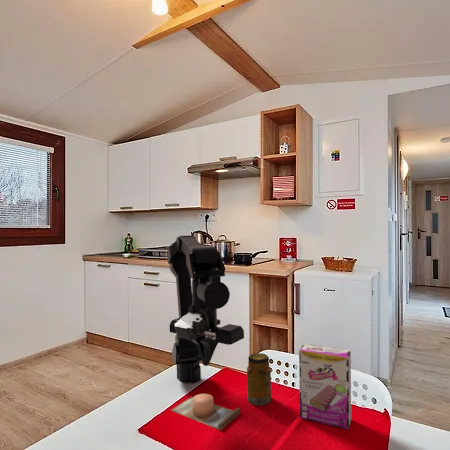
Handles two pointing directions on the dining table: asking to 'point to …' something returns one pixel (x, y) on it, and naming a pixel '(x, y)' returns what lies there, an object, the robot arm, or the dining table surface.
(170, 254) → the robot arm
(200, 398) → the tan round cylinder
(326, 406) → the candy bar box
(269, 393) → the condiment
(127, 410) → the dining table surface
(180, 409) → the board
